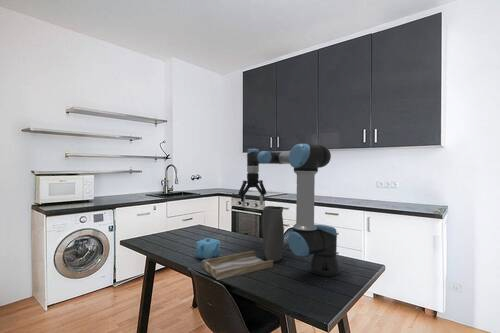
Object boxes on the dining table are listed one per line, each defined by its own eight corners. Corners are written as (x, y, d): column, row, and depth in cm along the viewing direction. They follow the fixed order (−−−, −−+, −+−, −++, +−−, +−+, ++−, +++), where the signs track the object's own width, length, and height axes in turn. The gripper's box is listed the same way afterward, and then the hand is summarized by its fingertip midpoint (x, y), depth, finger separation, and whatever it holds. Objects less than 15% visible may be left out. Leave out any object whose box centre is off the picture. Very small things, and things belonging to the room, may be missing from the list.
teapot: (205, 251, 168) (205, 233, 168) (228, 256, 159) (229, 237, 159) (187, 259, 155) (187, 239, 155) (211, 265, 146) (212, 244, 145)
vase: (286, 257, 158) (286, 206, 158) (279, 264, 147) (280, 209, 147) (266, 254, 163) (267, 205, 163) (258, 261, 152) (259, 208, 152)
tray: (273, 267, 144) (273, 259, 144) (217, 280, 126) (217, 271, 126) (253, 256, 160) (253, 249, 160) (202, 267, 143) (202, 259, 143)
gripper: (265, 172, 184) (265, 203, 184) (233, 172, 171) (232, 206, 171) (271, 172, 177) (271, 205, 177) (238, 173, 164) (238, 207, 164)
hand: (252, 205), depth 174 cm, fingers open, 13 cm apart
